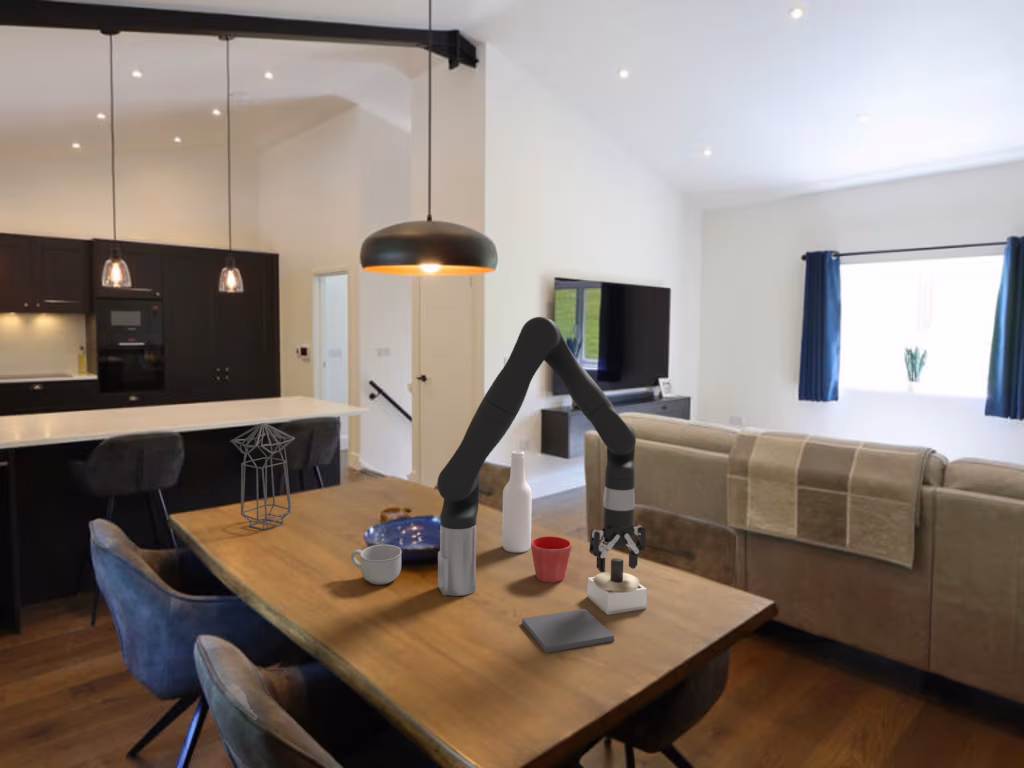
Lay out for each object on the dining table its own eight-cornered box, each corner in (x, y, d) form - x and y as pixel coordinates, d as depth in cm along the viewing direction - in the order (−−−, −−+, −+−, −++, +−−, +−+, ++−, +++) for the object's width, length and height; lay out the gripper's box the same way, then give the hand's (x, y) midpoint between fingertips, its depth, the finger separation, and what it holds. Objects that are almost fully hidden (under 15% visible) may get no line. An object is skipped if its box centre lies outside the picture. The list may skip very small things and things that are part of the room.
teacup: (409, 576, 172) (409, 548, 171) (385, 591, 162) (385, 561, 161) (367, 568, 177) (367, 540, 177) (342, 581, 168) (341, 552, 167)
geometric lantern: (300, 523, 216) (297, 422, 212) (260, 537, 203) (256, 429, 199) (270, 515, 225) (267, 417, 221) (230, 527, 211) (226, 424, 207)
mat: (546, 652, 132) (546, 647, 132) (522, 623, 145) (522, 618, 145) (614, 641, 138) (614, 635, 138) (585, 613, 151) (585, 608, 151)
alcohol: (531, 544, 199) (533, 449, 196) (529, 554, 190) (531, 455, 187) (503, 542, 200) (505, 448, 197) (500, 552, 191) (501, 454, 188)
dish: (607, 614, 150) (607, 594, 150) (587, 596, 160) (587, 577, 160) (646, 608, 154) (646, 588, 153) (624, 591, 164) (624, 572, 163)
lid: (607, 595, 149) (608, 571, 149) (586, 577, 160) (586, 555, 159) (648, 589, 153) (648, 565, 153) (624, 572, 164) (625, 550, 163)
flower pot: (568, 586, 166) (569, 550, 166) (527, 582, 169) (527, 547, 168) (572, 571, 177) (573, 537, 176) (533, 568, 179) (534, 534, 178)
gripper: (600, 511, 149) (598, 578, 150) (652, 506, 154) (650, 571, 155) (585, 503, 156) (584, 567, 157) (636, 498, 161) (634, 561, 162)
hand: (617, 569), depth 156 cm, fingers open, 8 cm apart
